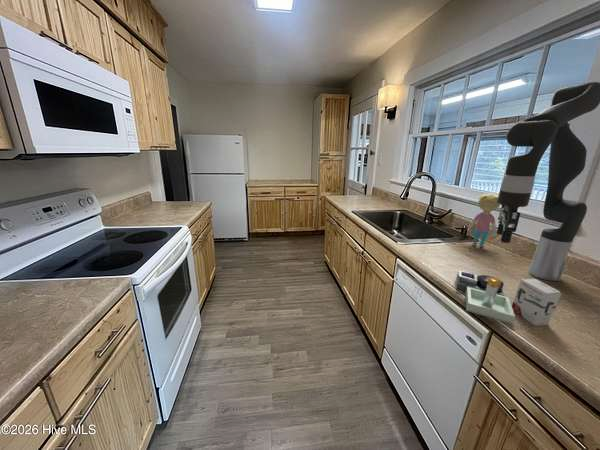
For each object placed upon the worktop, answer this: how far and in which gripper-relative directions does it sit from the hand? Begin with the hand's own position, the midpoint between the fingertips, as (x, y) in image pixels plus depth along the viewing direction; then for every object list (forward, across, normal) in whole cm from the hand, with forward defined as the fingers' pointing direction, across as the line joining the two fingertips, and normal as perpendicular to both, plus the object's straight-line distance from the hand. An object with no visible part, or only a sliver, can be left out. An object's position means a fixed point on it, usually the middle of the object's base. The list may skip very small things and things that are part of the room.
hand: (502, 238), depth 81 cm
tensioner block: (+24, +5, +2) cm, 24 cm away
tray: (+23, -7, 0) cm, 24 cm away
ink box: (+24, -5, -11) cm, 27 cm away
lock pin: (+23, -7, +1) cm, 24 cm away
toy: (+25, +59, -2) cm, 64 cm away
